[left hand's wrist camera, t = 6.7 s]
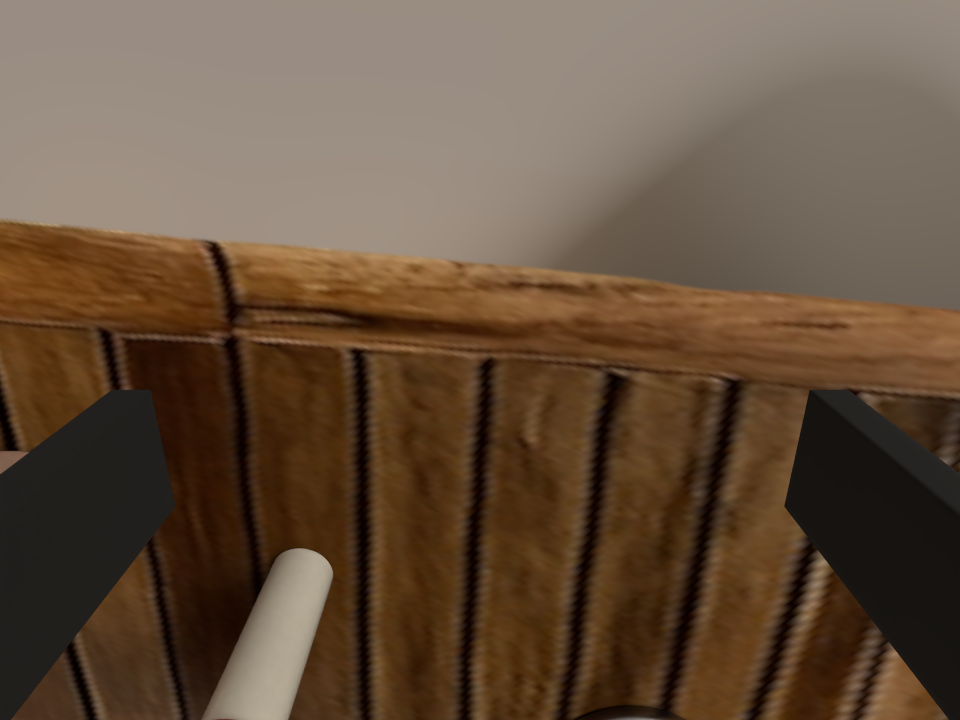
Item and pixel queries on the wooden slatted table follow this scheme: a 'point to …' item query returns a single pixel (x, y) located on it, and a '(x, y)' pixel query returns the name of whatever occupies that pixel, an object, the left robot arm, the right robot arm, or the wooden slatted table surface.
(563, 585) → the wooden slatted table surface
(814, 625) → the wooden slatted table surface
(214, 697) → the white cylindrical bottle
